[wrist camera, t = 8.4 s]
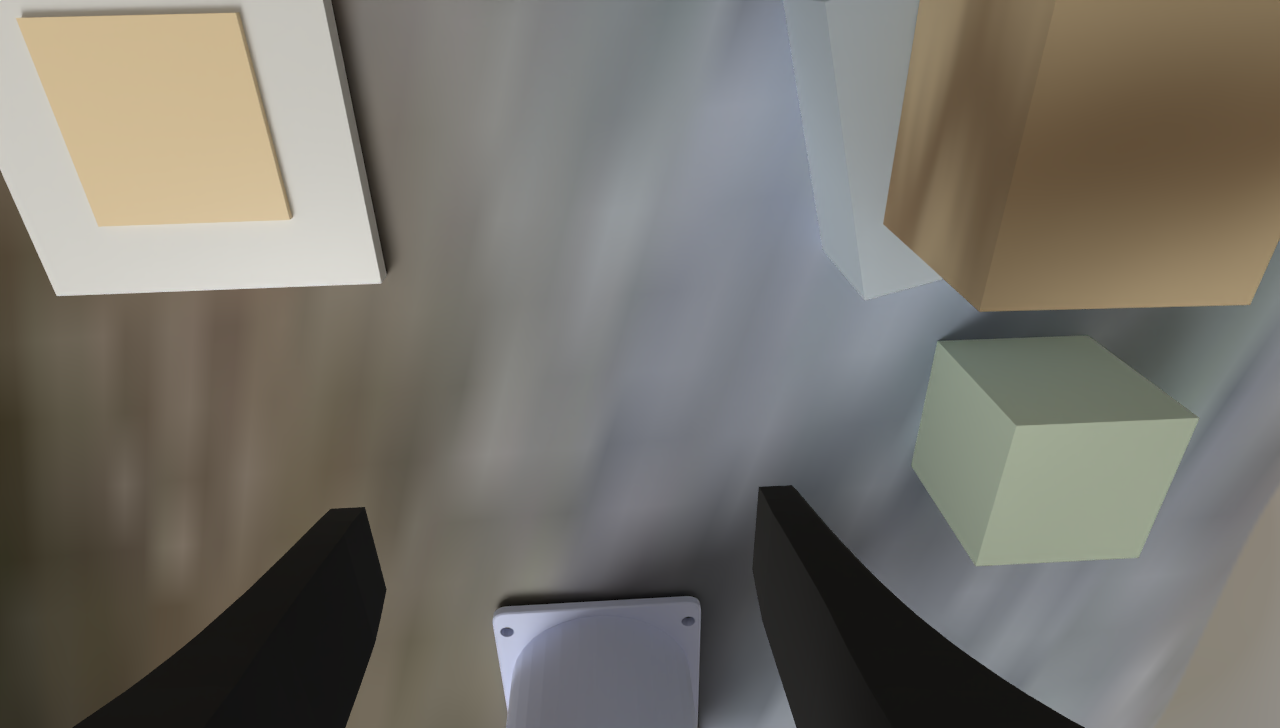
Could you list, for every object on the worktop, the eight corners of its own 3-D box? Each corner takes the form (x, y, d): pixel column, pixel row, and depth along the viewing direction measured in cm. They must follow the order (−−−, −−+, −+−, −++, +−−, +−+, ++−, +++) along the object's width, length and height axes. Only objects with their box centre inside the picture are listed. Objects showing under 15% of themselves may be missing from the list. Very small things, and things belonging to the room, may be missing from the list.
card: (386, 275, 21) (379, 286, 20) (70, 287, 21) (51, 298, 20) (313, -87, 17) (300, -90, 16) (-90, -80, 16) (-121, -83, 16)
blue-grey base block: (1053, 182, 21) (1146, 223, 18) (820, 247, 22) (865, 300, 18) (1056, -89, 18) (1170, -105, 14) (780, -4, 18) (824, 1, 15)
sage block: (1046, 458, 26) (1138, 557, 21) (910, 464, 26) (975, 566, 21) (1086, 334, 23) (1199, 417, 19) (936, 339, 23) (1016, 425, 19)
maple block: (1086, 219, 17) (1250, 304, 13) (883, 223, 17) (979, 311, 13) (1157, -14, 15) (1389, -7, 11) (921, -12, 15) (1057, -4, 10)
